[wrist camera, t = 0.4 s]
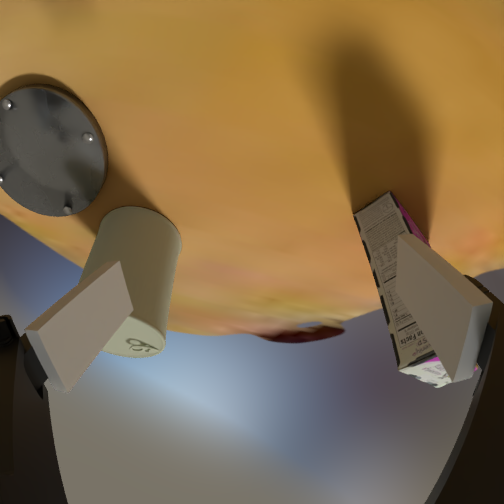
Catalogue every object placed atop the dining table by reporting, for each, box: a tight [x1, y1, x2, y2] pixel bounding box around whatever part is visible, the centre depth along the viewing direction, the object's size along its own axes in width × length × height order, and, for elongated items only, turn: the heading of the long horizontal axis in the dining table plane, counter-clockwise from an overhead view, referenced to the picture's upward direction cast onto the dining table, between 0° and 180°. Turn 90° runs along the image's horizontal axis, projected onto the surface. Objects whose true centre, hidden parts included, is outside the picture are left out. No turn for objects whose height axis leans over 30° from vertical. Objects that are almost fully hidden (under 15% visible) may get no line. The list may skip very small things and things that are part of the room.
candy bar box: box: [353, 191, 478, 388], centre depth 26 cm, size 11×5×16 cm, turn 47°
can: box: [78, 206, 182, 358], centre depth 28 cm, size 9×9×12 cm
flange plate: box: [0, 84, 108, 217], centre depth 23 cm, size 14×14×1 cm
